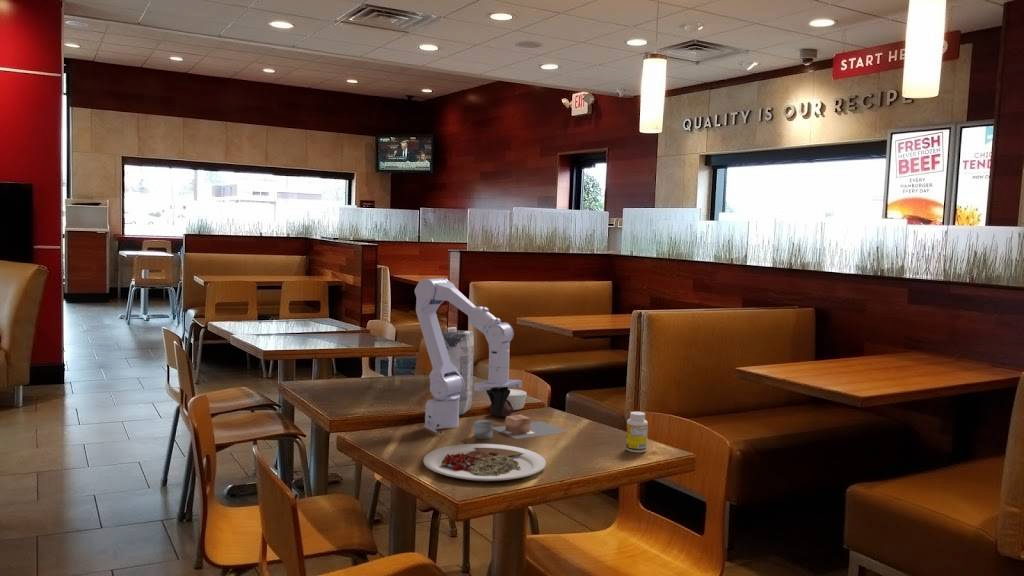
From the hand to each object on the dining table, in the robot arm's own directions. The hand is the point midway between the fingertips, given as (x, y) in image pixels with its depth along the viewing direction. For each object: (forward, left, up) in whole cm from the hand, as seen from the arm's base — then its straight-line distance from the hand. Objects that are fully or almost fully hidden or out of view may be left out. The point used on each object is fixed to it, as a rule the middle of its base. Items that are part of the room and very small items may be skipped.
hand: (497, 414), depth 220 cm
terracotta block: (+7, 0, -6) cm, 9 cm away
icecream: (+13, +19, -7) cm, 24 cm away
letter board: (+11, 0, -7) cm, 13 cm away
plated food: (-17, -22, -7) cm, 29 cm away
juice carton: (+5, +33, -7) cm, 34 cm away
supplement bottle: (+27, -28, -7) cm, 39 cm away
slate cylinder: (-5, -1, -7) cm, 8 cm away
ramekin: (+24, +31, -7) cm, 40 cm away
